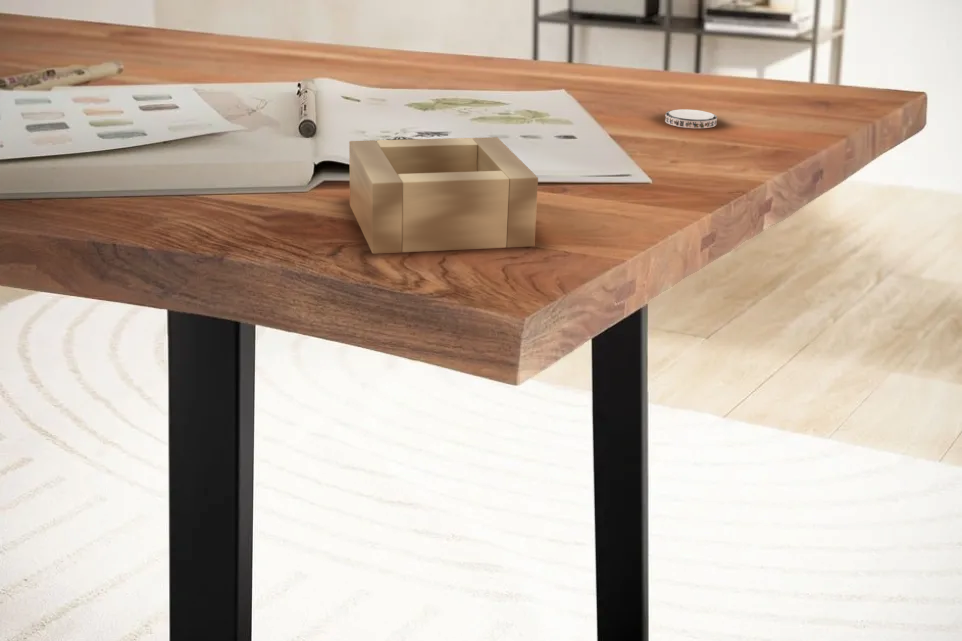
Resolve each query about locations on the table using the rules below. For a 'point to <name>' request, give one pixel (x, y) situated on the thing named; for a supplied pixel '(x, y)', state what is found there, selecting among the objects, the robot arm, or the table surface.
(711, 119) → the washi tape
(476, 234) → the holder
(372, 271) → the table surface
